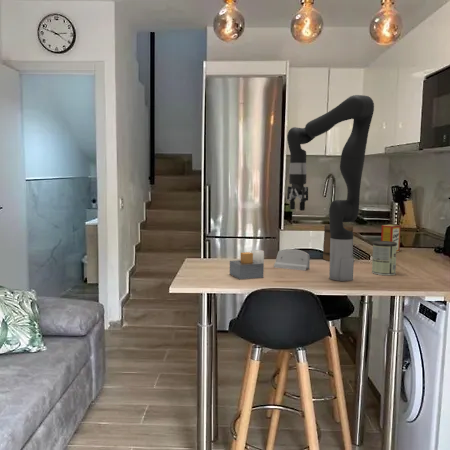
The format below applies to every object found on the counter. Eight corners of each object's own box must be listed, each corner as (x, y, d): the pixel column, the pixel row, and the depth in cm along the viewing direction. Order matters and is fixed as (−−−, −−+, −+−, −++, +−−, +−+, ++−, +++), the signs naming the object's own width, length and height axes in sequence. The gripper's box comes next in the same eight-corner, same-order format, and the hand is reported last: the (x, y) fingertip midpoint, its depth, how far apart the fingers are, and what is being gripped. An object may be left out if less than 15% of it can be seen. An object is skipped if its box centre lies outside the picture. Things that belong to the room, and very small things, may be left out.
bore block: (263, 277, 202) (263, 263, 201) (239, 279, 198) (239, 265, 197) (252, 272, 212) (252, 259, 212) (229, 274, 208) (229, 260, 207)
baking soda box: (390, 253, 273) (392, 225, 272) (380, 251, 278) (381, 224, 277) (399, 251, 279) (400, 224, 278) (389, 250, 284) (390, 223, 283)
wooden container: (355, 262, 243) (357, 219, 241) (327, 262, 242) (328, 219, 240) (346, 257, 257) (348, 216, 255) (319, 257, 257) (321, 216, 255)
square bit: (252, 276, 204) (252, 253, 203) (244, 277, 202) (244, 254, 201) (248, 274, 208) (249, 252, 207) (240, 275, 206) (240, 252, 205)
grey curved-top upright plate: (272, 267, 226) (276, 246, 228) (276, 269, 230) (279, 248, 232) (306, 270, 218) (309, 249, 220) (309, 272, 222) (312, 251, 224)
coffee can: (371, 270, 220) (372, 240, 219) (395, 271, 217) (396, 241, 216) (371, 274, 210) (372, 243, 209) (396, 276, 207) (397, 244, 206)
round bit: (265, 271, 216) (266, 251, 215) (253, 272, 214) (254, 252, 213) (260, 268, 222) (260, 249, 221) (248, 269, 220) (248, 250, 219)
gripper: (313, 173, 206) (312, 210, 207) (297, 173, 219) (296, 208, 220) (298, 173, 203) (297, 211, 205) (282, 173, 216) (281, 209, 218)
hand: (297, 209), depth 213 cm, fingers open, 8 cm apart
